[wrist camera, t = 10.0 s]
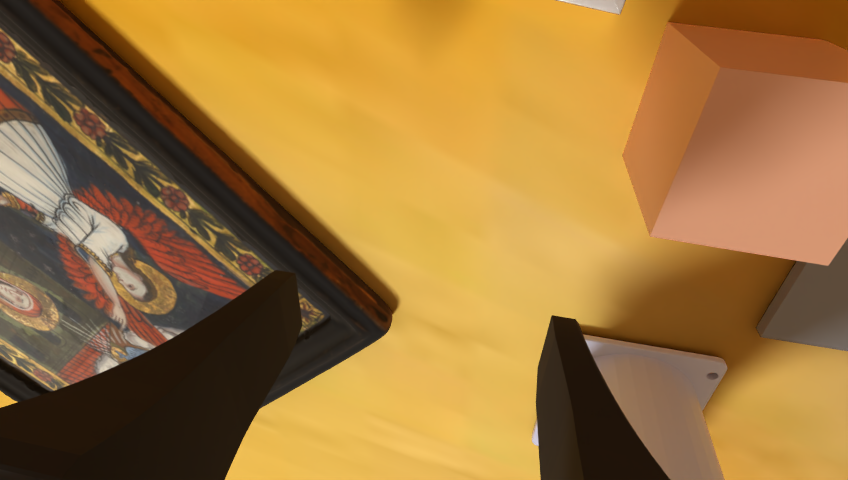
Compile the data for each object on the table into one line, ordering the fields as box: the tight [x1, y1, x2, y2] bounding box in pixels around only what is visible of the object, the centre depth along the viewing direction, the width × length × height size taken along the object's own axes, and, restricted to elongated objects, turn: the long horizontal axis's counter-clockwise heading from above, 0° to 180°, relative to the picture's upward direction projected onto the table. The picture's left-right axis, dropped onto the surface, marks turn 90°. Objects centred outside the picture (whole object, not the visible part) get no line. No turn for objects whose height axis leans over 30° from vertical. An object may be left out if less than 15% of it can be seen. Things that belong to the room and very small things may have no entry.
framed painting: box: [0, 0, 392, 409], centre depth 29 cm, size 38×35×3 cm
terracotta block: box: [622, 22, 848, 266], centre depth 15 cm, size 5×5×6 cm
